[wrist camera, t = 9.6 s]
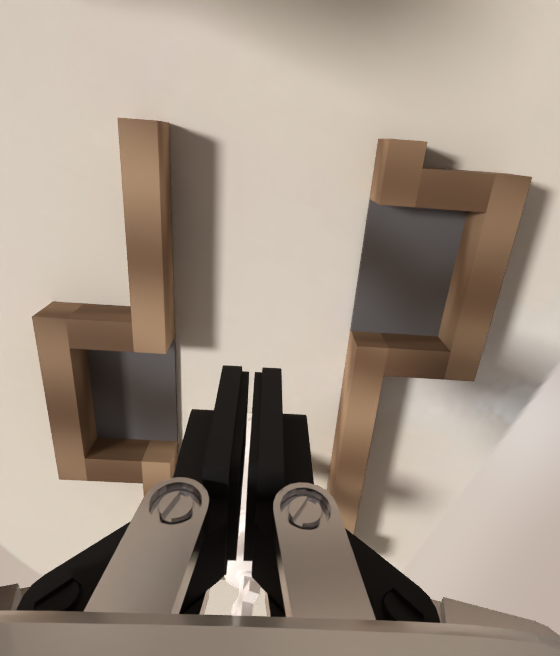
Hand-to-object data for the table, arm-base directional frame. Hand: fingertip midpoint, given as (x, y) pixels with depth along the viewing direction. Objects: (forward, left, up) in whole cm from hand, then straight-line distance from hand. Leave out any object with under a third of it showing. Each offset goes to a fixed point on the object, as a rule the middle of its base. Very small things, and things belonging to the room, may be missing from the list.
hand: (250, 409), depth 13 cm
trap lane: (+4, 0, -10) cm, 11 cm away
